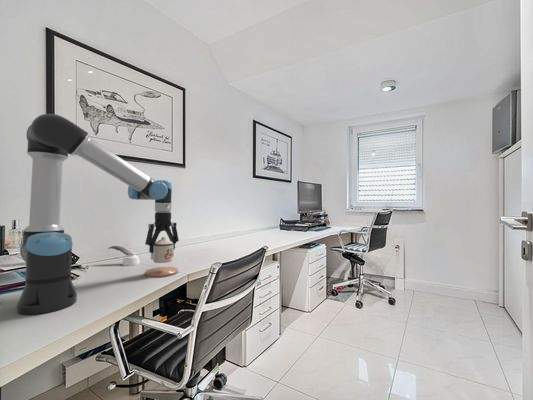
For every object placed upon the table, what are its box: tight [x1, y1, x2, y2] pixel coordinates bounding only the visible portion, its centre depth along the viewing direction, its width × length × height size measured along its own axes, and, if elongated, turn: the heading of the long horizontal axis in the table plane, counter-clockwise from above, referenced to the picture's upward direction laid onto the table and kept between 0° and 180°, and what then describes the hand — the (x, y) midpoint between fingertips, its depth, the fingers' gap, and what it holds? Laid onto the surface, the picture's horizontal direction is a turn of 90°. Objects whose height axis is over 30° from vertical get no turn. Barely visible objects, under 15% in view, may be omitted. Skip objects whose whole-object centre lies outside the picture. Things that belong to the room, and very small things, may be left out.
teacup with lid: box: [152, 236, 173, 264], centre depth 130 cm, size 12×9×12 cm
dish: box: [144, 266, 179, 278], centre depth 129 cm, size 15×15×1 cm
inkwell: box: [107, 245, 141, 267], centre depth 147 cm, size 9×18×10 cm, turn 93°
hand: (162, 257), depth 129 cm, fingers closed on teacup with lid, 9 cm apart
